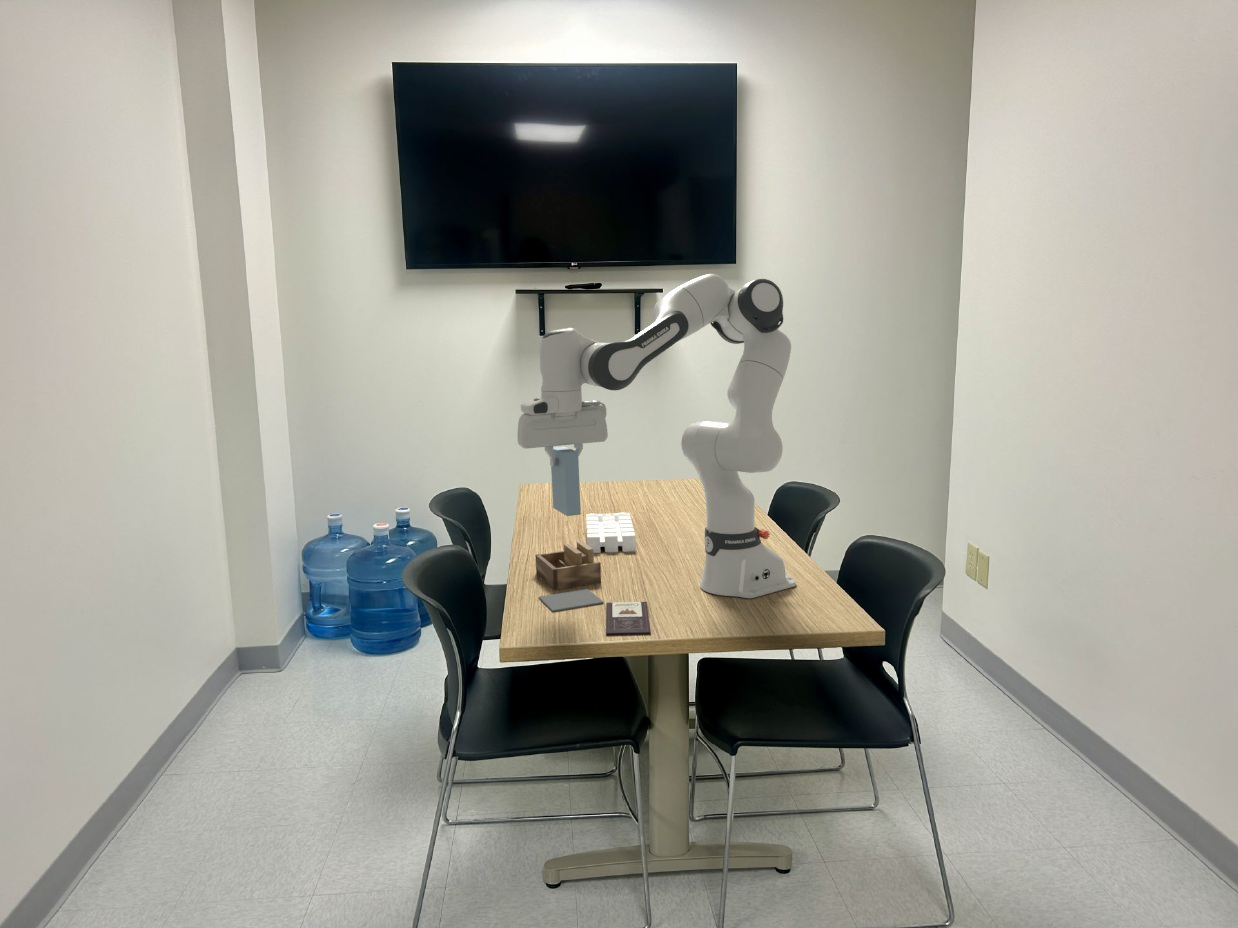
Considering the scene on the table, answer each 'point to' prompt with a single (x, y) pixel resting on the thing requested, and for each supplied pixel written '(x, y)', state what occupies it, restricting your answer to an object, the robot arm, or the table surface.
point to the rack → (565, 571)
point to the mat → (570, 600)
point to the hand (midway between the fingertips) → (564, 464)
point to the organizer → (610, 532)
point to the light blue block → (566, 482)
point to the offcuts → (578, 554)
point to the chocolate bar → (627, 618)
